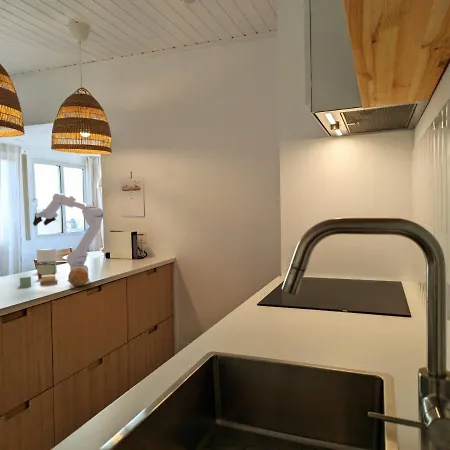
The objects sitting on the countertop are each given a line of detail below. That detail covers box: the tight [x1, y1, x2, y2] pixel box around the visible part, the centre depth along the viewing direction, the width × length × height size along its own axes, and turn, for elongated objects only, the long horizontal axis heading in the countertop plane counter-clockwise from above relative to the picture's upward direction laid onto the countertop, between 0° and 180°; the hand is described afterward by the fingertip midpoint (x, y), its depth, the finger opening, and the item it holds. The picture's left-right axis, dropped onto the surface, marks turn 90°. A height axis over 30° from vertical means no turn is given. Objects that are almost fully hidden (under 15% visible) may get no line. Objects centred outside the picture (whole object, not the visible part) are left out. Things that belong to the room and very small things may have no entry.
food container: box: [35, 261, 58, 280], centre depth 232 cm, size 12×6×10 cm, turn 84°
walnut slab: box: [39, 277, 58, 286], centre depth 215 cm, size 8×8×2 cm
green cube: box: [19, 275, 32, 288], centre depth 209 cm, size 5×5×5 cm
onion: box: [67, 267, 89, 287], centre depth 205 cm, size 10×10×10 cm
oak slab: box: [41, 274, 56, 282], centre depth 215 cm, size 6×6×2 cm
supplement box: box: [36, 248, 58, 272], centre depth 261 cm, size 9×9×15 cm
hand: (39, 224), depth 233 cm, fingers open, 7 cm apart
